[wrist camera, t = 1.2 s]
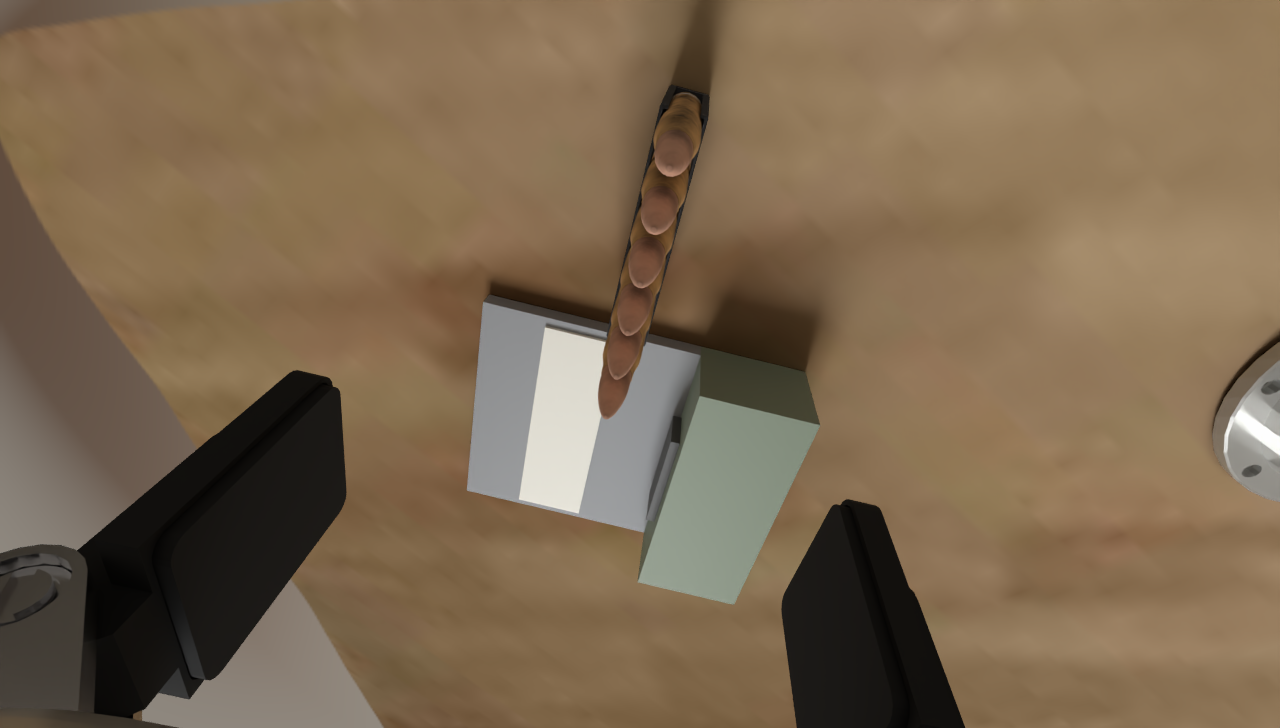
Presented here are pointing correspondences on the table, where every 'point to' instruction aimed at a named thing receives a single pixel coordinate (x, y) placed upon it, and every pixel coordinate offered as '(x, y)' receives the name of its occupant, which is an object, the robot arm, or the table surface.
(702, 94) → the ammunition clip
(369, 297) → the table surface
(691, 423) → the plate with green block
